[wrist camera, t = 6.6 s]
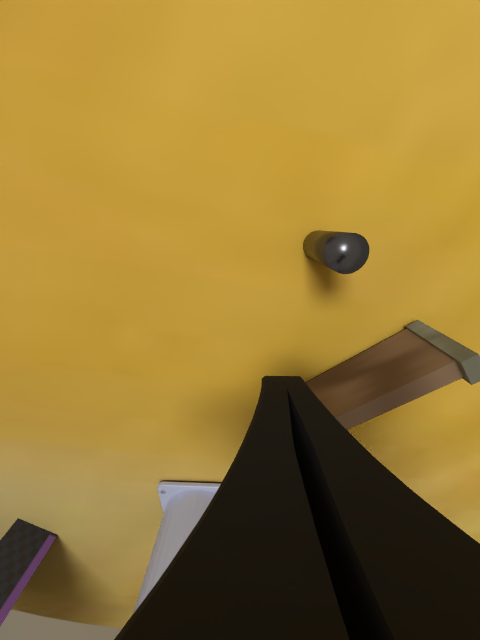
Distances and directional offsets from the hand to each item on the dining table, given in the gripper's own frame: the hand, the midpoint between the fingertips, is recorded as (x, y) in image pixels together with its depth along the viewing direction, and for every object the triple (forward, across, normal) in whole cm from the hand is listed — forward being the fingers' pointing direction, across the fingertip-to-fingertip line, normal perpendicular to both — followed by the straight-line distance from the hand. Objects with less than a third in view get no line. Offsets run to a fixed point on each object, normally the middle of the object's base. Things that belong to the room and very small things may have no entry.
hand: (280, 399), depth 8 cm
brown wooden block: (+8, -7, +3) cm, 11 cm away
